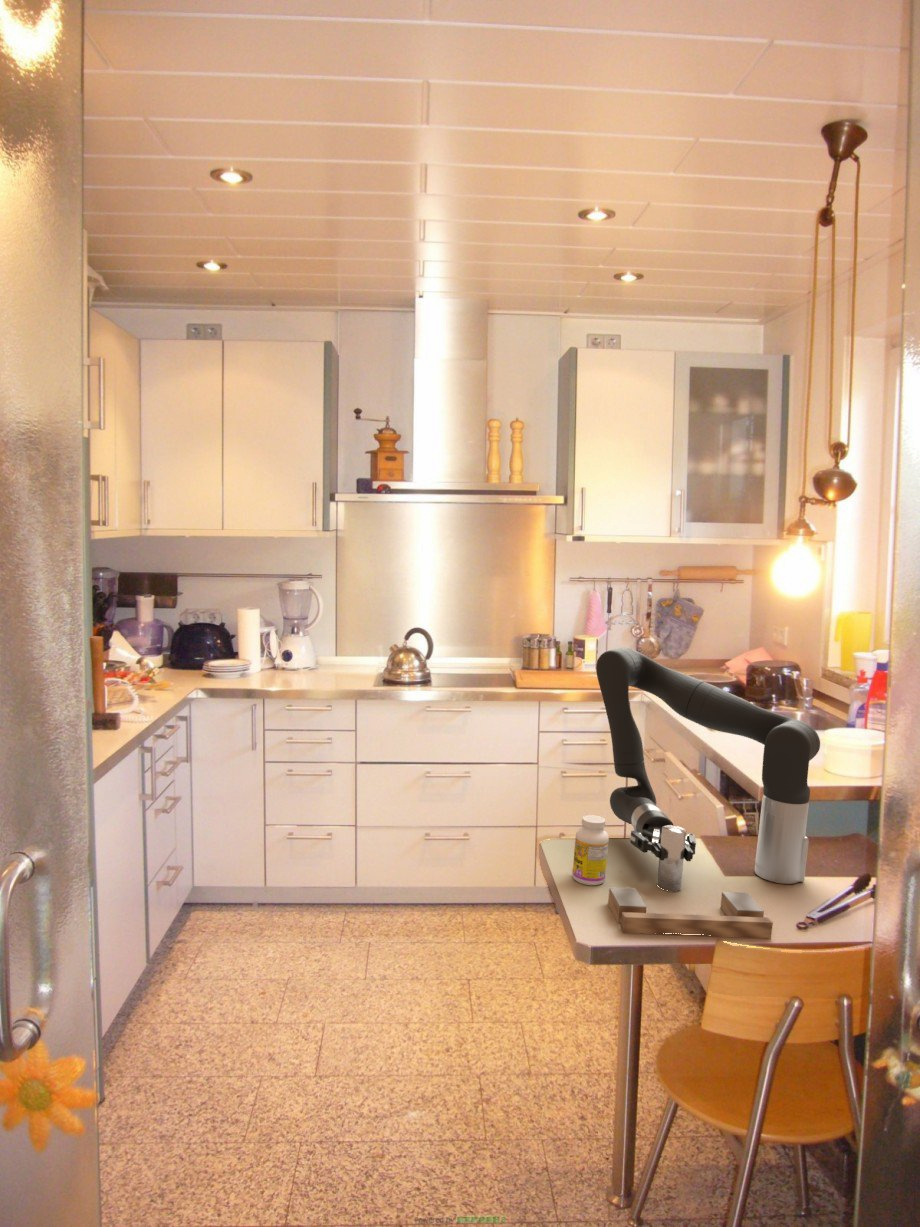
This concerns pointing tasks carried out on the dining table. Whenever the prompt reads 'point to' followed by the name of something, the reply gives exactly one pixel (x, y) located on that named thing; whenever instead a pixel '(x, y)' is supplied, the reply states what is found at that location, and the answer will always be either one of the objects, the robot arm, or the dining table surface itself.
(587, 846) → the supplement bottle
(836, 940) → the dining table surface
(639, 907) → the rail with metal-top blocks
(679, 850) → the link pin
